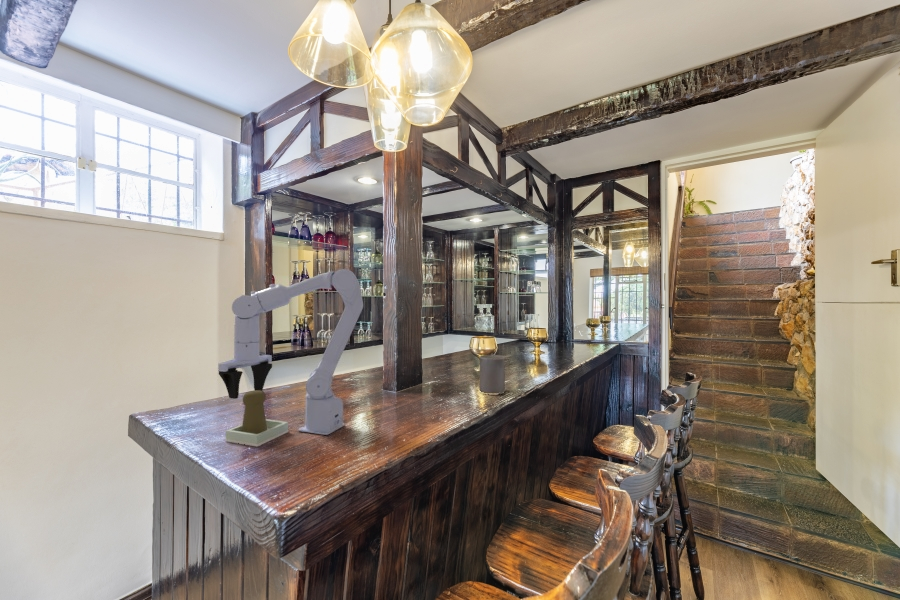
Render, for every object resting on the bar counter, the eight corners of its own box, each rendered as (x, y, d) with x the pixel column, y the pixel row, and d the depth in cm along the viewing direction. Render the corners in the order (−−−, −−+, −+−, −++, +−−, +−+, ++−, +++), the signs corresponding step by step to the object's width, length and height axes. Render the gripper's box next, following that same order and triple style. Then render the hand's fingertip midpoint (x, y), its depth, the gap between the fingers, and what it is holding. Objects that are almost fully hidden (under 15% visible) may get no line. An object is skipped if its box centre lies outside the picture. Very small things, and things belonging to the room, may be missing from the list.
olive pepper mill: (256, 439, 88) (256, 394, 88) (234, 437, 89) (235, 393, 89) (272, 430, 94) (272, 388, 94) (252, 429, 95) (252, 387, 95)
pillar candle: (479, 388, 141) (479, 351, 141) (504, 389, 140) (504, 351, 140) (479, 395, 132) (479, 355, 132) (505, 396, 131) (505, 355, 131)
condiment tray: (288, 432, 94) (288, 422, 94) (257, 446, 85) (257, 435, 85) (258, 427, 98) (258, 418, 98) (225, 441, 88) (225, 430, 88)
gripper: (257, 338, 101) (257, 386, 101) (209, 344, 87) (208, 400, 87) (277, 339, 98) (277, 388, 98) (231, 345, 85) (230, 402, 85)
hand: (246, 394), depth 92 cm, fingers open, 7 cm apart
